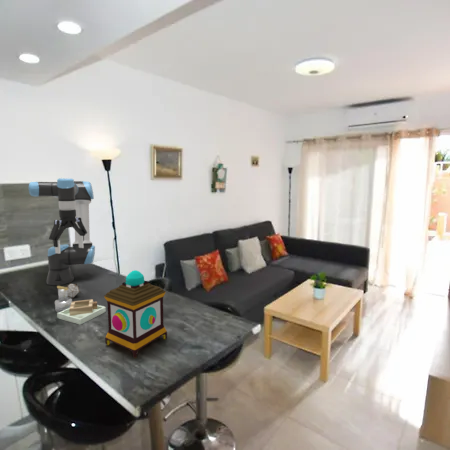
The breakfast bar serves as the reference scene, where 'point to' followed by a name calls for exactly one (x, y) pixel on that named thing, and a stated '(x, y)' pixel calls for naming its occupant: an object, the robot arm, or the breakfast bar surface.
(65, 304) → the grey piece
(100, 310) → the tray
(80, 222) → the robot arm
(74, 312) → the tan wooden square frame
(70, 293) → the game die
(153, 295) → the decorative lantern
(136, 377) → the breakfast bar surface
